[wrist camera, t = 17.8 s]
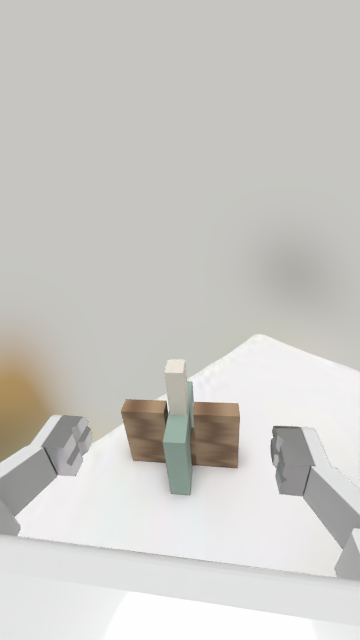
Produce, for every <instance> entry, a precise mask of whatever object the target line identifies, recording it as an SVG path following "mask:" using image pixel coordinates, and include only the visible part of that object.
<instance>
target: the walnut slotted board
mask: <svg viewBox="0 0 360 640" xmlns="http://www.w3.org/2000/svg"><path fill="white" fill-rule="evenodd" d="M121 414H122V418H123V422H124V426H125V430H126V434H127V438H128V441H129V445H130V449H131V453H132V457H133V460H135V461H149V462H162V463H166V459H165V453H164V447H163V438H164V434H165V429H166V424H167V419H168V409H167V402H166V401H157V400H131V399H126V401H125V403H124V405H123V407H122V410H121ZM193 418H194V428H192V431H191V441H190V449H191V461H192V465H202V466H216V467H229V468H237V465H238V444H239V423H240V414H239V405H238V404H237V403H210V402H194V412H193Z"/></svg>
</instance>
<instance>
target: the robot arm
mask: <svg viewBox="0 0 360 640" xmlns="http://www.w3.org/2000/svg"><path fill="white" fill-rule="evenodd" d="M87 424H88V420H87V418H86V417H79V416H67V415H53V416H51V417H50V418H49V420H48V421H47V422H46V424H45V425H44V427H43V428H42V429H41V431H40V432H39V433H38V435H37V436H36V437H35V439H34V440H33V442H32V443H31V444H30V446H25V447H24V448H22V449H21V450H19V451H18V452H16V453H15V454H14V455H12V456H10V457H9V458H7V459H6V460H4V461H3V462H1V463H0V640H360V489H359V488H358V487H357V486H356V485H354V484H353V483H352V482H351V481H350V480H349V479H348V478H347V477H346V476H344V475H343V474H342V473H341V472H340V471H339V470H338V469H337V468H332V466H331V464H330V462H329V460H328V457H327V455H326V453H325V450H324V448H323V446H322V444H321V441H320V439H319V437H318V434H317V432H316V430H315V429H314V428H309V427H292V426H274V427H273V430H272V433H273V437H274V438H273V439H271V457H272V462H273V465H274V466H275V467H276V468H277V469H276V481H277V485H278V489H279V494H285V495H294V496H303V498H304V500H305V501H306V502H307V503H308V505H309V506H310V507H311V509H312V510H313V511H314V513H315V514H316V515H317V517H318V518H319V519H320V520H321V522H322V523H323V524H324V526H325V527H326V528H327V530H328V531H329V532H330V533H331V535H332V536H333V537H334V539H335V540H336V541H337V543H338V544H339V545H340V546H341V548H342V549H343V551H342V554H341V556H340V558H339V560H338V562H337V564H336V566H335V571H336V574H337V578H336V577H329V576H321V575H313V574H305V573H298V572H290V571H282V570H274V569H267V568H259V567H251V566H244V565H236V564H228V563H220V562H213V561H205V560H197V559H189V558H182V557H174V556H166V555H158V554H151V553H143V552H135V551H128V550H120V549H112V548H104V547H97V546H89V545H81V544H73V543H66V542H58V541H50V540H42V539H34V538H27V537H19V536H17V535H18V533H19V531H20V524H19V523H18V522H17V520H16V519H15V516H16V515H17V514H18V513H19V512H20V511H21V510H22V509H23V508H24V507H25V506H27V505H28V504H29V503H30V502H31V501H32V500H33V499H34V498H35V497H36V496H37V495H38V494H39V493H40V492H41V491H42V490H43V489H44V488H45V487H47V486H48V485H49V484H50V483H51V482H52V481H53V480H54V479H55V478H56V477H57V475H64V476H76V475H77V472H78V470H79V468H80V466H81V464H82V462H83V457H82V456H83V455H84V454H85V453H87V452H88V450H89V448H90V446H91V442H92V431H91V429H90V428H89V427H88V426H87Z"/></svg>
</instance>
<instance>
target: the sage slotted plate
mask: <svg viewBox="0 0 360 640" xmlns="http://www.w3.org/2000/svg"><path fill="white" fill-rule="evenodd" d="M164 373H165V381H166V389H167V396H168V404H169V414H168V419H167V424H166V429H165V434H164V438H163V447H164V453H165V459H166V466H167V472H168V478H169V484H170V491H171V494H181V495H190V492H191V479H192V461H191V449H190V441H191V431H192V428H194V418H193V412H194V400H193V385H192V382H187V377H186V364H185V360H179V359H176V360H175V359H168V362H167V365H166V369H165V372H164Z"/></svg>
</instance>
